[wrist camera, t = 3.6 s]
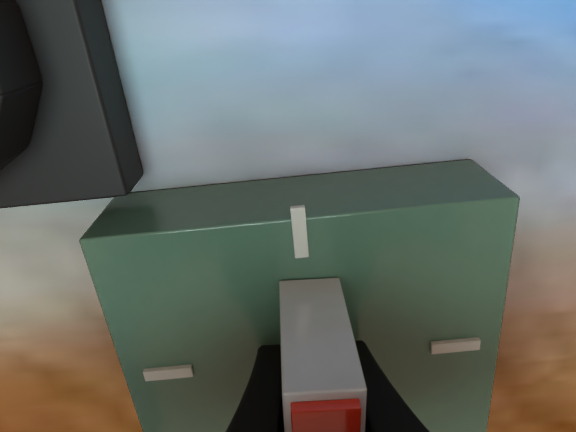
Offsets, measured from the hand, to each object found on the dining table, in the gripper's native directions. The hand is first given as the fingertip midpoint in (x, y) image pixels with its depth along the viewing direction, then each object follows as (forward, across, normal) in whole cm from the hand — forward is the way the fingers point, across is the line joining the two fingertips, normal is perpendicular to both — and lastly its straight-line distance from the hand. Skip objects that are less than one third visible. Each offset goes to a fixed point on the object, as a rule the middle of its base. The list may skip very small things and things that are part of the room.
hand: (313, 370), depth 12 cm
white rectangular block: (0, 0, 0) cm, 0 cm away
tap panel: (+3, 0, 0) cm, 3 cm away
